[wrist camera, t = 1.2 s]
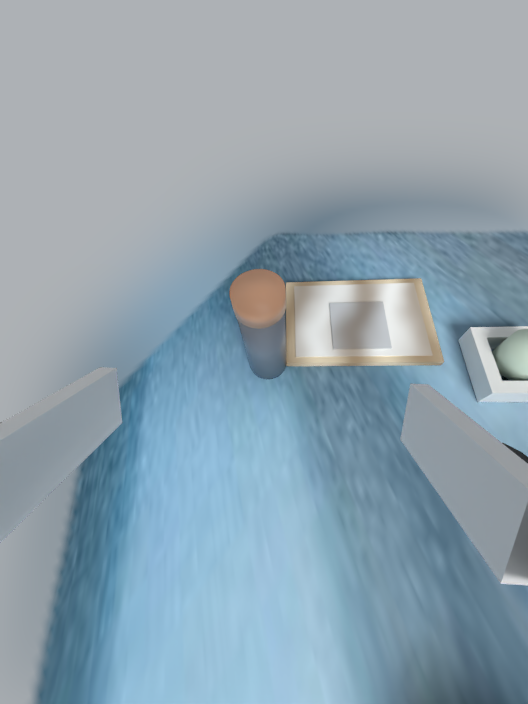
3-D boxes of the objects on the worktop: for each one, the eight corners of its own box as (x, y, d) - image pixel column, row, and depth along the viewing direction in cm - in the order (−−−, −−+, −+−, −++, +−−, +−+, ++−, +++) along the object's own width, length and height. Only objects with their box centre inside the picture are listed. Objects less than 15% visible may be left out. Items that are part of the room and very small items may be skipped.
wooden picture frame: (418, 282, 37) (422, 276, 36) (440, 365, 32) (445, 360, 31) (286, 286, 38) (285, 280, 37) (286, 366, 33) (286, 361, 32)
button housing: (527, 338, 32) (544, 326, 30) (555, 402, 29) (576, 393, 27) (458, 339, 33) (470, 327, 31) (477, 402, 30) (492, 393, 27)
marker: (287, 345, 34) (285, 268, 23) (287, 379, 32) (285, 312, 21) (250, 345, 34) (231, 270, 24) (248, 380, 33) (227, 314, 22)
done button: (527, 344, 30) (549, 328, 28) (543, 381, 28) (569, 368, 26) (485, 344, 31) (503, 329, 28) (498, 381, 29) (519, 368, 26)
